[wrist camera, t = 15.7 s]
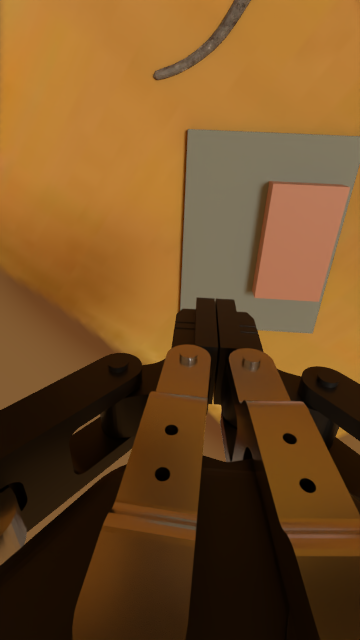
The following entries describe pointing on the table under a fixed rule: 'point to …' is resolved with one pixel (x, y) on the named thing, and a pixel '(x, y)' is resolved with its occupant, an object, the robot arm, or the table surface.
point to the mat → (250, 213)
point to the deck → (297, 239)
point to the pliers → (209, 45)
